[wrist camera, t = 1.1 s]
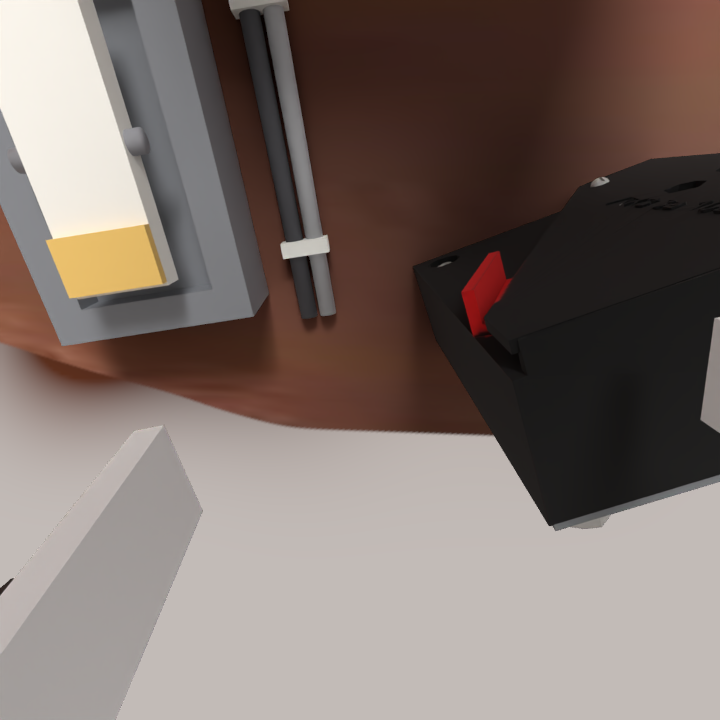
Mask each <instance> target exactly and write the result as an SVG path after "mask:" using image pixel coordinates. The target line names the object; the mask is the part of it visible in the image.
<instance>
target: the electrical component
mask: <svg viewBox="0 0 720 720" xmlns="http://www.w3.org/2000/svg"><path fill="white" fill-rule="evenodd" d="M413 269H414V272H415V275H416V278H417V282H418V285H419V288H420V291H421V294H422V297H423V301H424V304H425V307H426V310H427V313H428V316H429V319H430V323H431V326H432V329H433V332H434V335H435V338H436V341H437V342H438V344H439V346H440V347H441V349H442V351H443V352H444V354H445V356H446V357H447V359H448V361H449V362H450V364H451V365H452V367H453V369H454V370H455V372H456V374H457V375H458V377H459V379H460V380H461V382H462V384H463V385H464V387H465V388H466V390H467V392H468V393H469V395H470V397H471V398H472V400H473V402H474V403H475V405H476V407H477V408H478V410H479V412H480V413H481V415H482V416H483V418H484V420H485V421H486V423H487V425H488V426H489V428H490V430H491V431H492V433H493V435H494V436H495V438H496V440H497V441H498V443H499V444H500V446H501V448H502V449H503V451H504V453H505V454H506V456H507V458H508V459H509V461H510V462H511V464H512V466H513V467H514V469H515V471H516V472H517V474H518V476H519V477H520V479H521V480H522V482H523V484H524V486H525V487H526V489H527V490H528V492H529V494H530V495H531V497H532V499H533V500H534V502H535V504H536V505H537V507H538V509H539V510H540V512H541V514H542V515H543V517H544V518H545V520H546V522H547V523H548V525H549V526H553V527H554V529H555V531H558V530H561V529H564V528H567V527H574V528H581V529H588V528H598V527H602V526H603V525H604V523H605V522H606V521H607V520H608V519H609V517H610V515H611V514H614V513H617V512H621V511H624V510H627V509H630V508H634V507H637V506H641V505H644V504H647V503H651V502H654V501H657V500H661V499H664V498H667V497H670V496H674V495H677V494H681V493H684V492H687V491H691V490H694V489H697V488H700V487H704V486H707V485H711V484H714V483H717V482H720V433H719V432H717V431H716V430H715V429H713V428H712V427H710V426H709V425H707V424H706V423H705V422H703V421H702V420H701V412H702V405H703V398H704V391H705V383H706V376H707V369H708V362H709V354H710V347H711V340H712V333H713V325H714V318H718V317H720V153H717V154H705V155H693V156H681V157H669V158H657V159H650V160H647V161H645V162H642V163H639V164H637V165H634V166H632V167H629V168H626V169H624V170H621V171H618V172H616V173H613V174H611V175H608V176H605V177H599V178H597V179H595V180H594V181H592V182H590V183H587V184H585V185H583V186H580V187H579V188H578V189H577V190H576V192H575V193H574V195H573V196H572V197H571V199H570V200H569V201H568V203H567V204H566V206H565V207H564V208H563V210H562V211H561V212H558V213H555V214H553V215H550V216H547V217H545V218H542V219H539V220H537V221H534V222H531V223H528V224H526V225H523V226H520V227H518V228H515V229H512V230H510V231H507V232H504V233H502V234H499V235H496V236H494V237H491V238H488V239H485V240H483V241H480V242H477V243H475V244H472V245H469V246H467V247H464V248H461V249H459V250H456V251H453V252H451V253H448V254H445V255H442V256H440V257H437V258H434V259H432V260H429V261H426V262H424V263H421V264H418V265H416V266H413Z"/></svg>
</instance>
